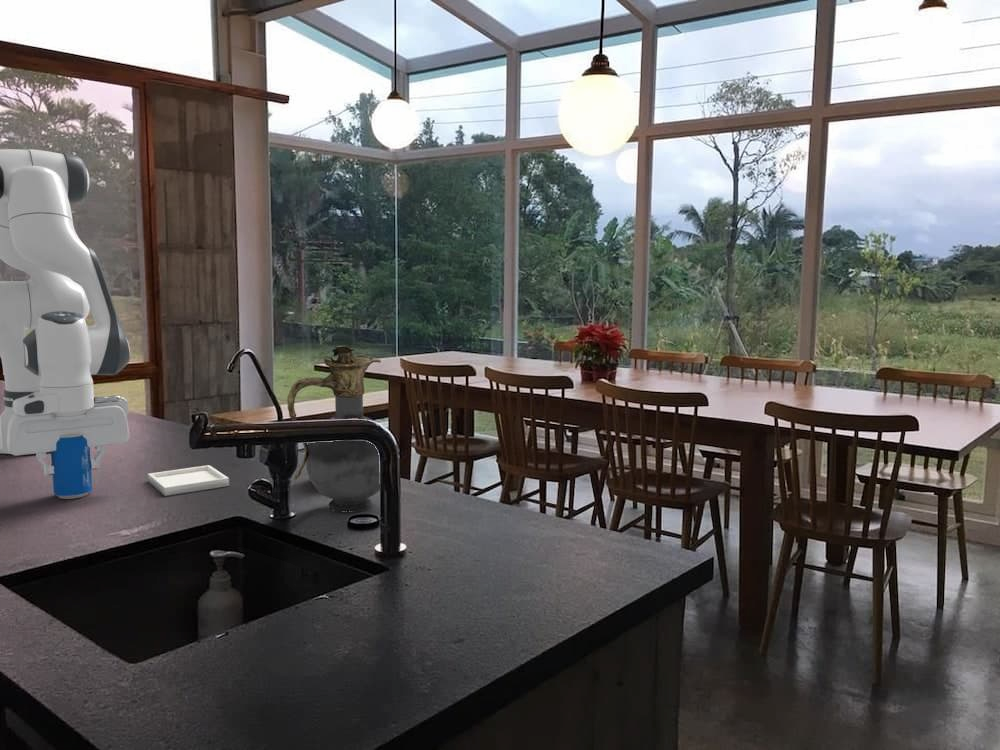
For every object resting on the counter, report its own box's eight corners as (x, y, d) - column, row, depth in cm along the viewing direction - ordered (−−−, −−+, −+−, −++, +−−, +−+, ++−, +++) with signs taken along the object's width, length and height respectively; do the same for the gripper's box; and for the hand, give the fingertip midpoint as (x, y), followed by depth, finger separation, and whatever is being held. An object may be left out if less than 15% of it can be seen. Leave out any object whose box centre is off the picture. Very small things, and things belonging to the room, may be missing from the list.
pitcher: (402, 508, 148) (401, 345, 144) (299, 525, 138) (295, 350, 134) (378, 493, 157) (377, 339, 153) (281, 508, 147) (276, 344, 143)
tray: (148, 481, 163) (148, 473, 163) (209, 472, 171) (209, 465, 170) (165, 495, 154) (164, 487, 154) (229, 485, 161) (228, 477, 161)
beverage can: (76, 501, 150) (72, 437, 148) (45, 498, 151) (41, 435, 149) (100, 491, 156) (96, 430, 154) (70, 489, 157) (66, 428, 156)
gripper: (123, 392, 160) (127, 460, 162) (2, 402, 147) (8, 476, 149) (131, 396, 155) (135, 467, 157) (6, 407, 142) (12, 483, 144)
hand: (72, 471), depth 153 cm, fingers closed on beverage can, 6 cm apart
